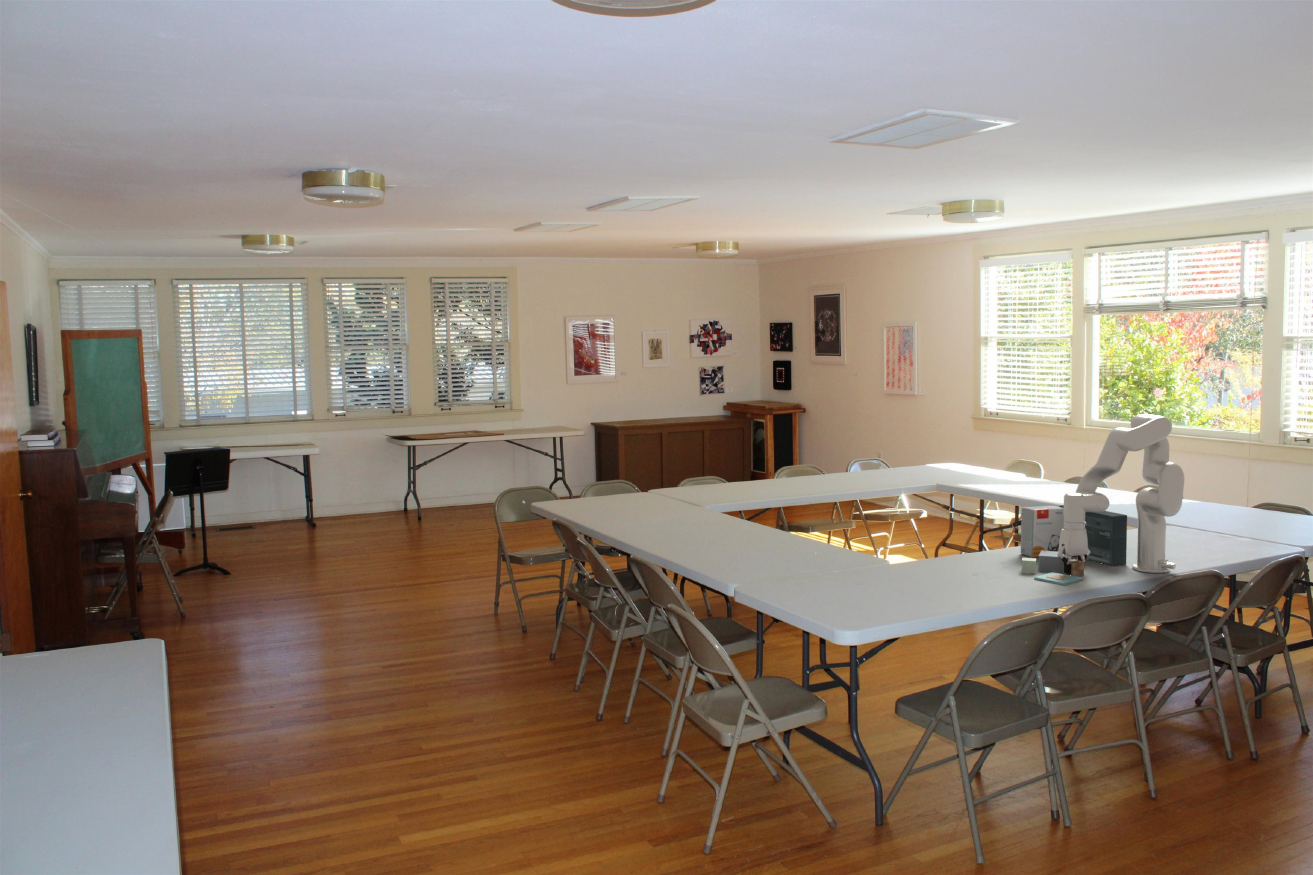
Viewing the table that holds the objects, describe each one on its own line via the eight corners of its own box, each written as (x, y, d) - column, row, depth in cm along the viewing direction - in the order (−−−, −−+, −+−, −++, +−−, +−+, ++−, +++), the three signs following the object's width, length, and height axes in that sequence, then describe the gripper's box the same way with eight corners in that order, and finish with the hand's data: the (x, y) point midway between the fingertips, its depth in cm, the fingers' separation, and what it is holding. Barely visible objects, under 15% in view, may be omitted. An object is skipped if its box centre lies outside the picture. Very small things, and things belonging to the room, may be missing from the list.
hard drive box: (1031, 557, 381) (1032, 510, 379) (1019, 554, 388) (1020, 507, 386) (1063, 554, 385) (1064, 507, 383) (1051, 551, 392) (1051, 504, 390)
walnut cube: (1073, 572, 355) (1074, 559, 354) (1083, 574, 350) (1083, 561, 350) (1063, 573, 353) (1063, 560, 353) (1073, 576, 349) (1073, 563, 348)
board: (1082, 579, 343) (1082, 577, 342) (1064, 585, 336) (1064, 582, 336) (1052, 574, 352) (1052, 571, 352) (1034, 579, 345) (1034, 576, 345)
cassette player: (1126, 565, 364) (1127, 515, 363) (1112, 566, 362) (1112, 516, 361) (1072, 550, 392) (1072, 504, 390) (1058, 552, 390) (1059, 505, 388)
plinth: (1068, 567, 364) (1068, 552, 363) (1066, 572, 355) (1066, 557, 354) (1041, 565, 368) (1041, 550, 368) (1038, 570, 360) (1038, 555, 359)
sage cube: (1035, 571, 358) (1036, 558, 358) (1035, 573, 354) (1035, 561, 353) (1022, 570, 360) (1022, 557, 360) (1021, 573, 356) (1021, 560, 355)
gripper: (1084, 522, 356) (1084, 568, 358) (1048, 525, 351) (1048, 572, 353) (1099, 525, 349) (1099, 572, 351) (1063, 529, 344) (1062, 577, 345)
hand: (1073, 572), depth 352 cm, fingers closed on walnut cube, 5 cm apart
